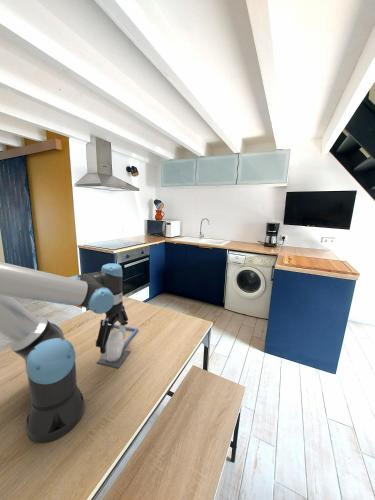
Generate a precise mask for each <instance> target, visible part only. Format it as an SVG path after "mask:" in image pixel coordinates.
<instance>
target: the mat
mask: <svg viewBox="0 0 375 500" xmlns="http://www.w3.org/2000/svg"><path fill="white" fill-rule="evenodd" d="M130 353H131V350H127V349H122V353H121V356H120V358H119V359H118V360H116V361H112V362H110V361H107V360H106V359H102V358H101V357H100V358H99V359H98V360H97V361H96V364H98V365H101V366H105V367H111V368H115V369H120V368H121V366H122V364H123V363H124V362H125V361H126V359H127V358H128V356H129V355H130Z"/></svg>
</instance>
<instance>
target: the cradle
mask: <svg viewBox="0 0 375 500" xmlns="http://www.w3.org/2000/svg"><path fill="white" fill-rule="evenodd" d="M119 325H120V324H116V323H115V324H114V326H113V328H112V329H111V331H112V330H114V329H118V330H119ZM125 331H127V332H128V331H129V332H132V333H131V334H130V335H129V336H128V338H127V339H126V340H125V342H124V347H123V349H124V350H126V347H127V346H128V345H129V343H130V342H131V341H132V339H134V337H135V336H136V335H137V333H138V332H139V328H136V327H131V326H127V325H125ZM96 342H97V339H96V340H95V343H96Z"/></svg>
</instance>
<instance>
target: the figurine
mask: <svg viewBox="0 0 375 500" xmlns="http://www.w3.org/2000/svg"><path fill="white" fill-rule="evenodd" d="M123 340H124V339H123V335H122V333H121V332H119V330H114V331H112V332H110V334H109V337H108V340H107V343H106V344H108V359H107V361H110V362H112V361H116V360H118V359H119V358H120V356H121V353H122V349H123V347H124V343H125V342H124V341H123Z"/></svg>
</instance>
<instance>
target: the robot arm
mask: <svg viewBox="0 0 375 500" xmlns="http://www.w3.org/2000/svg"><path fill="white" fill-rule="evenodd" d="M123 276H124V275H123V269H122V265H120V264H119V263H106V264H103V265H102V267H101V271H95V272H89V273H83V274H77V275H73V276H72V275H71V276H69V277H67V276H62V275H58V274H56V273H55V274H54V273H49V272H46V271H42V270H37V269H33V268H29V267H24V266H20V265H15V264H11V263H9V262H8V263H7V262H3V261H0V335H1V336H2V337H4V338H6V339H7V340H8V341H10V344H9V345H10V346H9V348H10V350H11V351H13V352H14V353H16V354H17V356H20V357H22V359H24V362H25V371H26V375H27V380H28V389H29V396H30V402H31V404H30V408H29V412H28V415H27V418H26V423H25V427H26V428H25V429H26V432H27V436H28V438H29V439H30V440H32V441H33V442H36V443H47V442H52V441H54V440H58V439H60V438H61V437H63V436H65V435H66V434H67V433H69V432H70V431H71V430H73V428H74V427H75V426H76V425H77V424H78V423H79V422H80V420H81V419H82V417H83V414H84V412H85V398H84V395H83V393H82V391H81V390H80V389H79V387H78V383H77V369H76V368H77V367H76V365H77V364H76V357H77V355H76V351H75V348H74V345H73V343H72V342H71V341H70V340H68V339H66V338H65V336H64V332H63V330H62V329H61V327H59V326H58V325H57V324H56V323H54V322H51V321H49V320H48V319H46V318H45V317H40V318H37V316H35V315H34V314H32V313H31V312H30V311H29V310H28V309H27V308H26V307H25V306H23V305H22V304H21V303H20V302H19V301H18V300H17V299H22V300H31V301H38V302H43V303H45V302H46V303H52V304H60V305H65V306H66V305H67V306H74V307H80V308H87V309H89V310H90V311H91V312H93V313H94V314H97V315H102V314H105V319H100V323H99V325H100V326H99V330H98V335H97V339H96V340H97V342H96V341H95V347H96V348H99V353H100V358H102V359H106V360H107V359H108V344H106V343H107V340H108V337H109V335H110V334H111V333H112V332H111V331H112V330H113V329H114V328H113V326H114V324H116V322H118V323H119V324H118V325H119V329H118V331H119V332H121V333H122V335H123V340H125V339H126V330H125V326H127V325H128V324H129V322H128V321H129V317H128V314H127V313H126V309H125V305H124V302H123V298H124V295H123ZM15 298H16V299H15ZM112 328H113V329H112ZM111 329H112V330H111Z"/></svg>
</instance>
